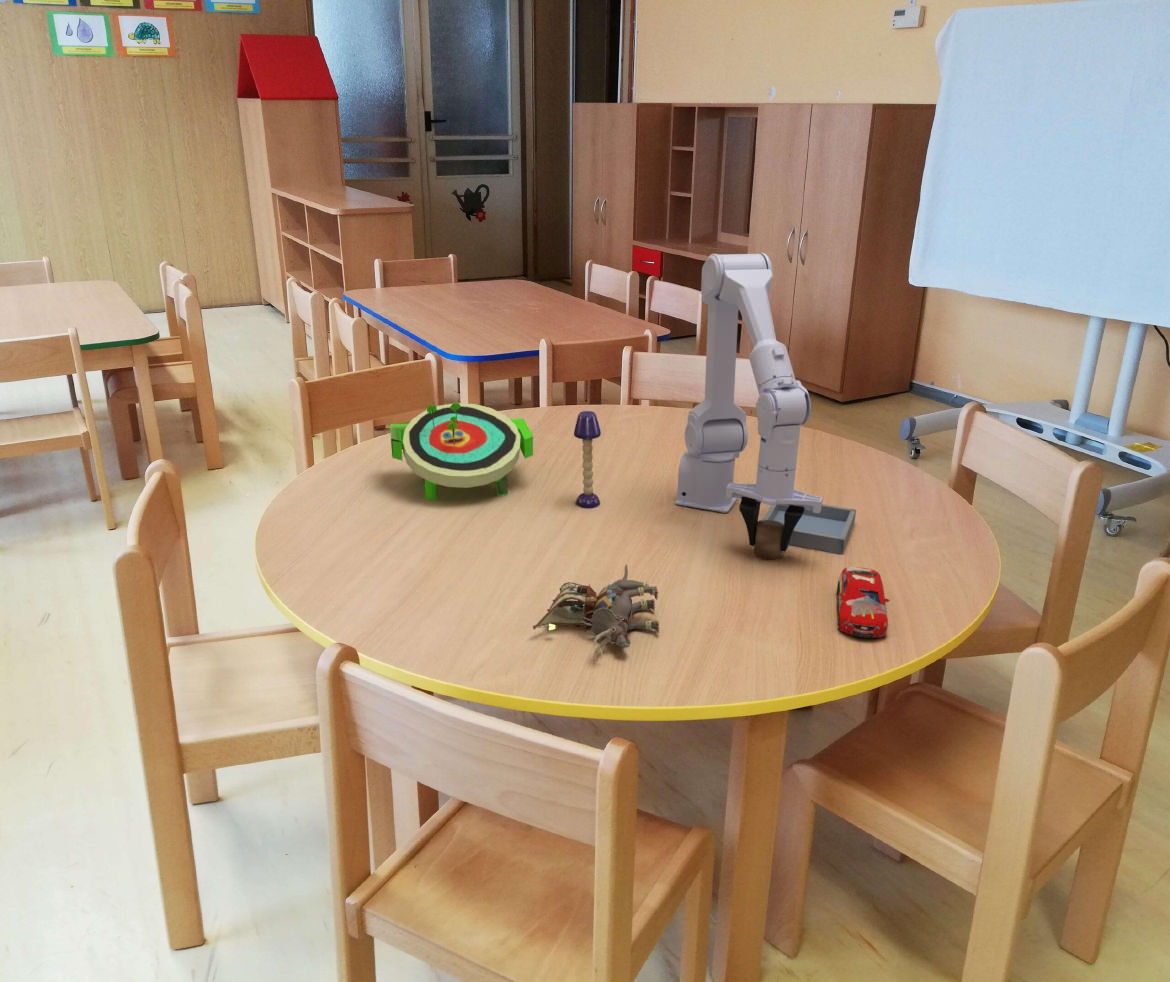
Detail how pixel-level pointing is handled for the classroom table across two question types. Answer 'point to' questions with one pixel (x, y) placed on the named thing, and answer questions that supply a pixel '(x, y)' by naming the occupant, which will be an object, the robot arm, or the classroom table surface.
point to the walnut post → (768, 540)
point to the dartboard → (461, 446)
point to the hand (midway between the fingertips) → (768, 546)
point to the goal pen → (819, 527)
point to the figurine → (602, 610)
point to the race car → (861, 603)
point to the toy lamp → (587, 456)
